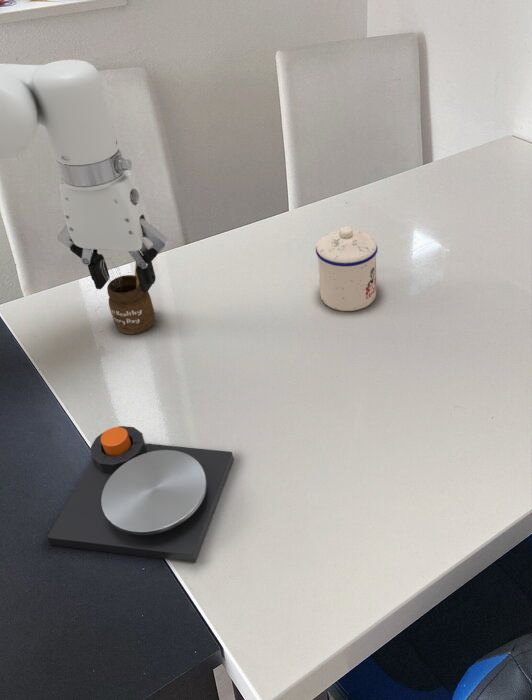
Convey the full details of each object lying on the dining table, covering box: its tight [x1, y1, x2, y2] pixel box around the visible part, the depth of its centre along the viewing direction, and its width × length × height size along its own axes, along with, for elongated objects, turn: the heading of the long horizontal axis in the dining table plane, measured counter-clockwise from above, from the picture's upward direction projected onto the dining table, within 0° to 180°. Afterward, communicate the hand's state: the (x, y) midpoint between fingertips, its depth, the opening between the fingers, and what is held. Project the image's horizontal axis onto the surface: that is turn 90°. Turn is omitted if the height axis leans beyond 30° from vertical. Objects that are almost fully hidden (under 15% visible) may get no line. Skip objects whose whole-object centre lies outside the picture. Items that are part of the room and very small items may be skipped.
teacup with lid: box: [315, 226, 378, 312], centre depth 103 cm, size 12×9×12 cm
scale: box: [46, 425, 235, 563], centre depth 75 cm, size 16×15×3 cm
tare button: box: [101, 426, 131, 456], centre depth 78 cm, size 3×3×2 cm
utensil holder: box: [100, 257, 156, 335], centre depth 97 cm, size 6×6×12 cm
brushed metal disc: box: [101, 450, 207, 535], centre depth 73 cm, size 11×11×1 cm
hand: (125, 284), depth 97 cm, fingers closed on utensil holder, 6 cm apart
